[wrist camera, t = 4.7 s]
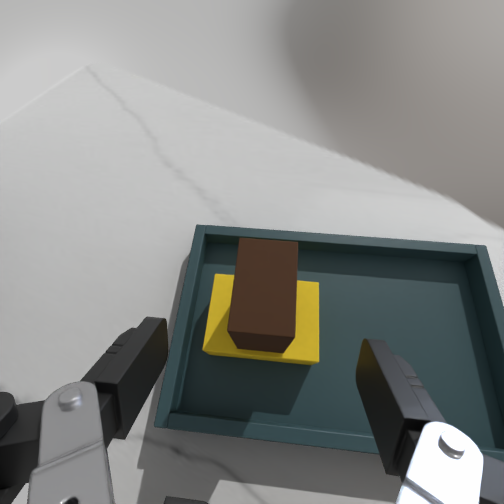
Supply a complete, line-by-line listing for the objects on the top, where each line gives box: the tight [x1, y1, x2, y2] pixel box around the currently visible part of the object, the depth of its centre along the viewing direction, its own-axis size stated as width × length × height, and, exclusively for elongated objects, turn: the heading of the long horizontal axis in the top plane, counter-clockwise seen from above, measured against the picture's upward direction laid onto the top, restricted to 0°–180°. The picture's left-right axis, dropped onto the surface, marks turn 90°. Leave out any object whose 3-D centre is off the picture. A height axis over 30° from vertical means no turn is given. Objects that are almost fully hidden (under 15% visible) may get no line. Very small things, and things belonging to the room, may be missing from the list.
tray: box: [154, 225, 504, 462], centre depth 19 cm, size 22×14×2 cm, turn 84°
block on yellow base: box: [203, 238, 319, 365], centre depth 16 cm, size 7×5×8 cm
